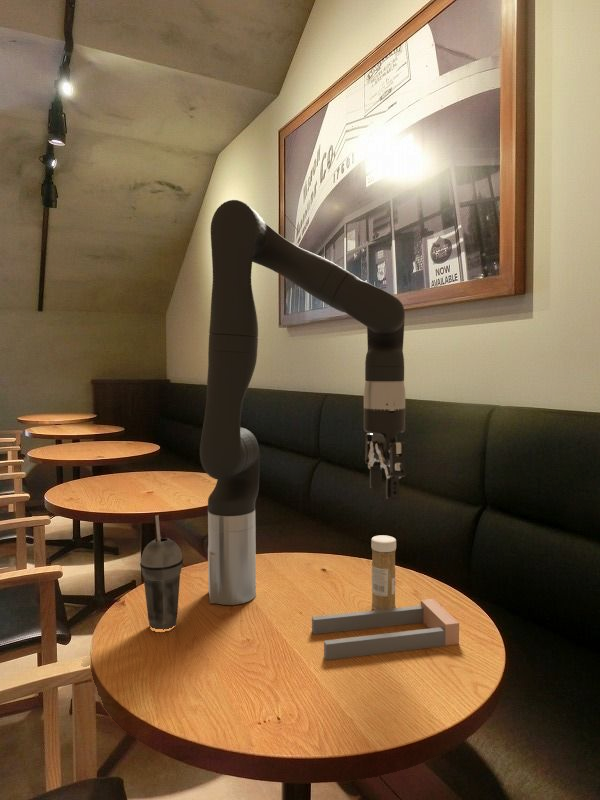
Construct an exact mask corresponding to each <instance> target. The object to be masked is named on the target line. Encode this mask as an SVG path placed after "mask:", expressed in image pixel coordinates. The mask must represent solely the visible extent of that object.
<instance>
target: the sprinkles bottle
mask: <svg viewBox="0 0 600 800" xmlns="http://www.w3.org/2000/svg"><path fill="white" fill-rule="evenodd" d="M370 541H371V542H370V543H371V544H370V545H371V551H372V552H371V553H372V554H371V556H372V557H371V593H372V595H371V597H372V599H371V609H372V611H373V610H382V609H392V608H397V607H396V606H397V605H396V549H397V539H396V538H395V537H393V536H390V535H386V534H385V535H384V534H383V535H375V536H373V537H372V538H371V540H370Z"/></svg>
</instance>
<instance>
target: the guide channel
mask: <svg viewBox="0 0 600 800" xmlns="http://www.w3.org/2000/svg"><path fill="white" fill-rule="evenodd" d="M419 623H424V624H425V626H426V627H427V628H425V629H424V628H423V629H415V630H413V629H412V630H405V631H397V632H388V633H380V634H378V633H377V634H371V635H361V636H353V637H344V638H337V639H335V638H334V639H327V640H323V657H324V659H325V661H333V660H338V659H339V660H340V659H345V658H346V659H348V658H356V657H362V656H363V657H365V656H372V655H380V654H389V653H396V652H397V653H398V652H402V651H403V652H404V651H405V652H406V651H412V650H421V649H428V648H429V649H430V648H436V647H446V646H454V645H459V644H460V622H458V620H456V618H454V617H453V616H452V614H450V613H449V612H448V611H447V610H446V609H445V608H444V607H443V606H442V605H440V604H439V603H438V602H437V600H435V599H434V598H429V599H427V598H426V599H421V600H420V604H419V605H412V606H403V607H396V608H392V609H382V610H373V609H372V610H367V611H366V610H364V611H356V612H346V613H337V614H326V615H316V616H315V615H314V616H312V617H311V632H312V634H313V635H322V634H330V633H338V632H340V633H341V632H348V631H349V632H350V631H357V630H366V629H374V628H376V629H377V628H383V627H391V626H400V625H409V624H419Z"/></svg>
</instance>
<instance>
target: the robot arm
mask: <svg viewBox="0 0 600 800" xmlns="http://www.w3.org/2000/svg"><path fill="white" fill-rule="evenodd" d="M210 244H211V245H210V246H211V260H212V261H211V262H212V263H211V264H212V266H211V267H212V286H211V287H212V288H211V289H212V290H211V299H210V318H209V320H210V321H209V330H208V350H207V351H208V353H207V355H208V358H207V359H208V363H207V364H208V367H207V381H206V382H207V383H206V400H205V410H204V418H203V425H202V430H201V437H200V443H199V444H200V445H199V458H200V459H199V460H200V463H201V466H202V469H203V470H204V471H205V473H206V474H207V475H208V476H209V477H211V478H212V479H214V480H216V483H215V486H214V488H213V490H212V492H211V493H210V494H209V496H208V499H207V525H208V526H207V532H208V535H207V536H208V545H207V564H208V565H207V567H208V569H207V573H208V577H207V578H208V579H207V580H208V583H207V584H208V598H209V604H219V605H222V606H223V605H224V606H235V605H237V606H238V605H241V604H245V603H247V602H250V601H252V600H253V599H254V598H255V597H256V595H257V562H256V560H257V559H256V558H257V557H256V551H257V549H256V547H257V546H256V544H257V543H256V500H257V497H258V494H259V490H260V489H259V488H260V465H261V464H260V462H261V461H260V459H261V458H260V456H261V455H260V446H259V442H258V440H257V437H256V436H255V435H254V433H252V431H250V430H248V429H247V428H244V427H242V426H241V419H242V417H241V416H242V409H243V408H242V407H243V402H244V399H245V396H246V394H247V390H248V388H249V385H250V382H251V381H252V378H253V375H254V373H255V369H256V366H257V357H258V343H259V321H258V315H257V309H256V305H255V304H256V303H255V298H254V293H253V286H252V270H253V269H252V268H253V263H255V264H257V265H260V266H263V267H265V268H267V269H268V270H271V271H273V272H274V273H277V274H279V275H281V276H282V277H284V278H286V279H287V280H289V281H290V282H291V283H293V284H294V285H296V286H298V287H299V288H300V289H302V290H303V291H304V292H306V293H308V294H309V295H311V296H313V297H314V298H316V299H317V300H319V301H320V302H323V303H324V304H326V305H328V306H329V307H331V308H332V309H335V310H337V311H339V312H342V313H345V314H347V315H348V316H350V317H351V318H352V319H355V320H356V321H357V322H359V323H360V324H362V325H364V327H365V326H366V329H367V330H366V336H367V338H366V339H367V352H366V356H365V363H364V365H365V367H364V370H365V371H364V375H365V376H364V379H365V380H364V381H365V382H364V390H363V431H364V432H366V433H365V447H364V448H365V449H364V452H365V453H364V462H365V464H367V468H368V469H369V488H371V489H372V490H379V489H382V488H383V487H382V486H383V469H384V473H385V477H386V478H385V498H386V499H387V500H390V501H395V500H399V499H400V479H401V478H403V477H406V473H407V472H406V469H407V468H406V467H407V466H406V465H407V464H406V463H407V462H406V443H405V441H398V437H397V436H398V434H402V433H404V432H405V431H406V388H405V357H404V356H405V355H404V337H405V318H406V317H405V316H406V315H405V308H404V304H403V302H402V301H401V300H400V299H399V298H398V297H396V295H394V294H391V292H388V291H387V290H384V289H382V288H381V287H378V286H376V285H373V284H372V283H370V282H367V281H364V280H362V279H361V278H359V277H358V276H356V275H355V274H354V273H351V272H350V271H348V270H347V269H345V268H344V267H341V266H339V265H338V264H336V263H334V262H333V261H331V260H329V259H327V258H325V257H323V256H320V255H318V254H315V253H314V252H311V251H309V250H306V249H304V248H301V247H300V246H298V245H296V244H295V243H292V242H291V241H290V240H288V239H286V238H285V237H283V236H282V235H281V234H280V233H278V232H277V231H276V230H275V229H273V228H272V227H271V225H269V224H267V222H265V221H264V219H263V217H262V216H260V214H259V213H258V212H257V211H256V210H255V209H254V208H252V207H251V206H250V205H249V204H247V203H245V202H243V201H241V200H238V199H231V200H227V201H225V202H223V203H222V204H220V205H219V206H218V208H217V209H216V210H215V212H214V214H213V215H212V219H211V223H210Z"/></svg>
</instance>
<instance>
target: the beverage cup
mask: <svg viewBox="0 0 600 800" xmlns="http://www.w3.org/2000/svg"><path fill="white" fill-rule="evenodd" d="M154 518H155V525H156V526H155V529H156V536H157V537H156V538H155V539H153V540H151V541H150V542H149V543H148V544H147V545H146V546H145V547H144V549H143V551H142V554H141V558H140V563H139V566H140V569H141V574H142V578H143V584H144V592H145V602H146V611H147V619H148V624H149V627H150V626H151V627H152V628H155V629H163V630H164V629H169V628H172V627H173V626H175V625H176V626H177V619H178V612H179V611H178V609H179V598H180V597H179V595H180V583H181V581H180V580H181V573H182V568H183V562H184V558H183V554H182V550H181V548H180V546H179V545H178V544H177V543H176V541H174V540H172V539H171V538H169V537H161V531H160V520H159V519H160V518H159V514H157V515H155V517H154Z"/></svg>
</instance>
